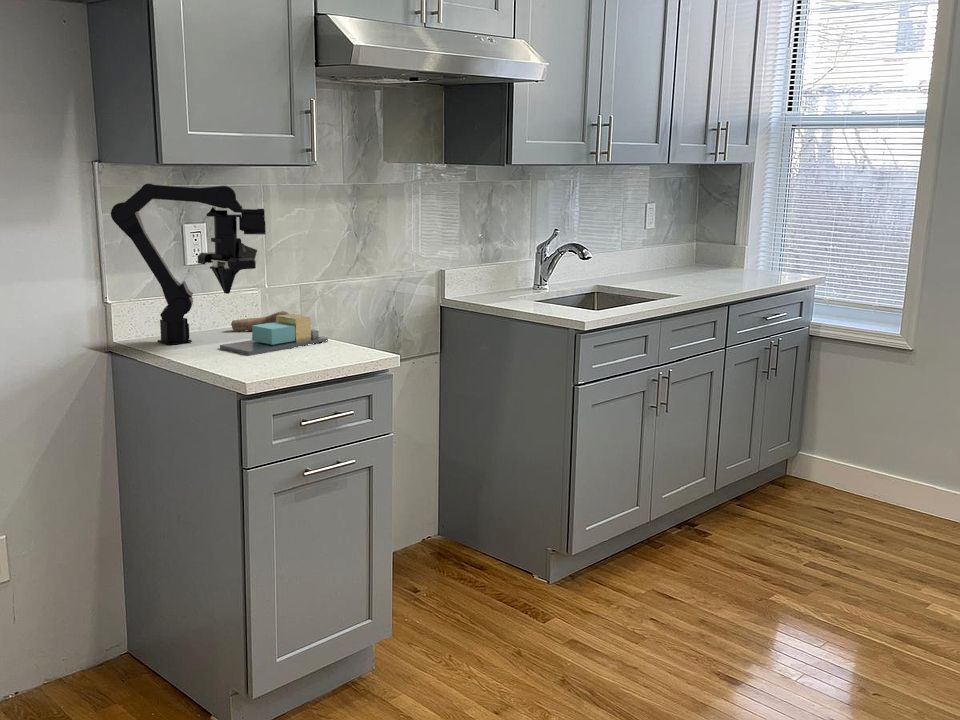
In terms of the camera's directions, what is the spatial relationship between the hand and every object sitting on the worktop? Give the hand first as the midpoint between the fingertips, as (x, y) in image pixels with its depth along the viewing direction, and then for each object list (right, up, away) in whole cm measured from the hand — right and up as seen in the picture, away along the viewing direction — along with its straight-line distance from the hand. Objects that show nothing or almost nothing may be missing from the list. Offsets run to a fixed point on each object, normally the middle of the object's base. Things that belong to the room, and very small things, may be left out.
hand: (227, 293), depth 250 cm
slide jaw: (+13, -13, -2) cm, 18 cm away
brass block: (+17, -12, +3) cm, 21 cm away
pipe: (+5, -10, +18) cm, 21 cm away
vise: (+13, -14, -2) cm, 19 cm away
